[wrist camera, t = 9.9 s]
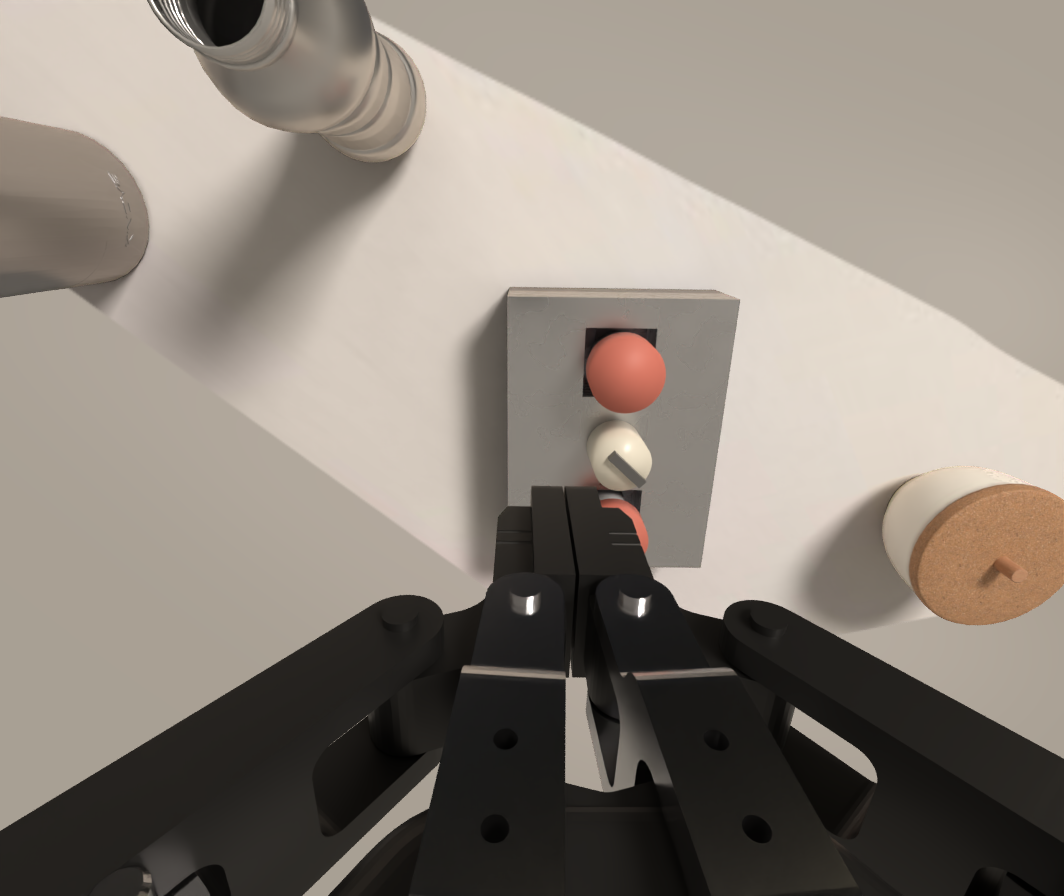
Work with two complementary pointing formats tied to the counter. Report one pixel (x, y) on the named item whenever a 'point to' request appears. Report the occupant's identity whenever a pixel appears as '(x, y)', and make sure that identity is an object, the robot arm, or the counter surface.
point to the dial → (618, 456)
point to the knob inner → (625, 372)
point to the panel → (665, 426)
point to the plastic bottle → (307, 69)
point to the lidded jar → (976, 543)
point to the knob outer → (617, 501)
